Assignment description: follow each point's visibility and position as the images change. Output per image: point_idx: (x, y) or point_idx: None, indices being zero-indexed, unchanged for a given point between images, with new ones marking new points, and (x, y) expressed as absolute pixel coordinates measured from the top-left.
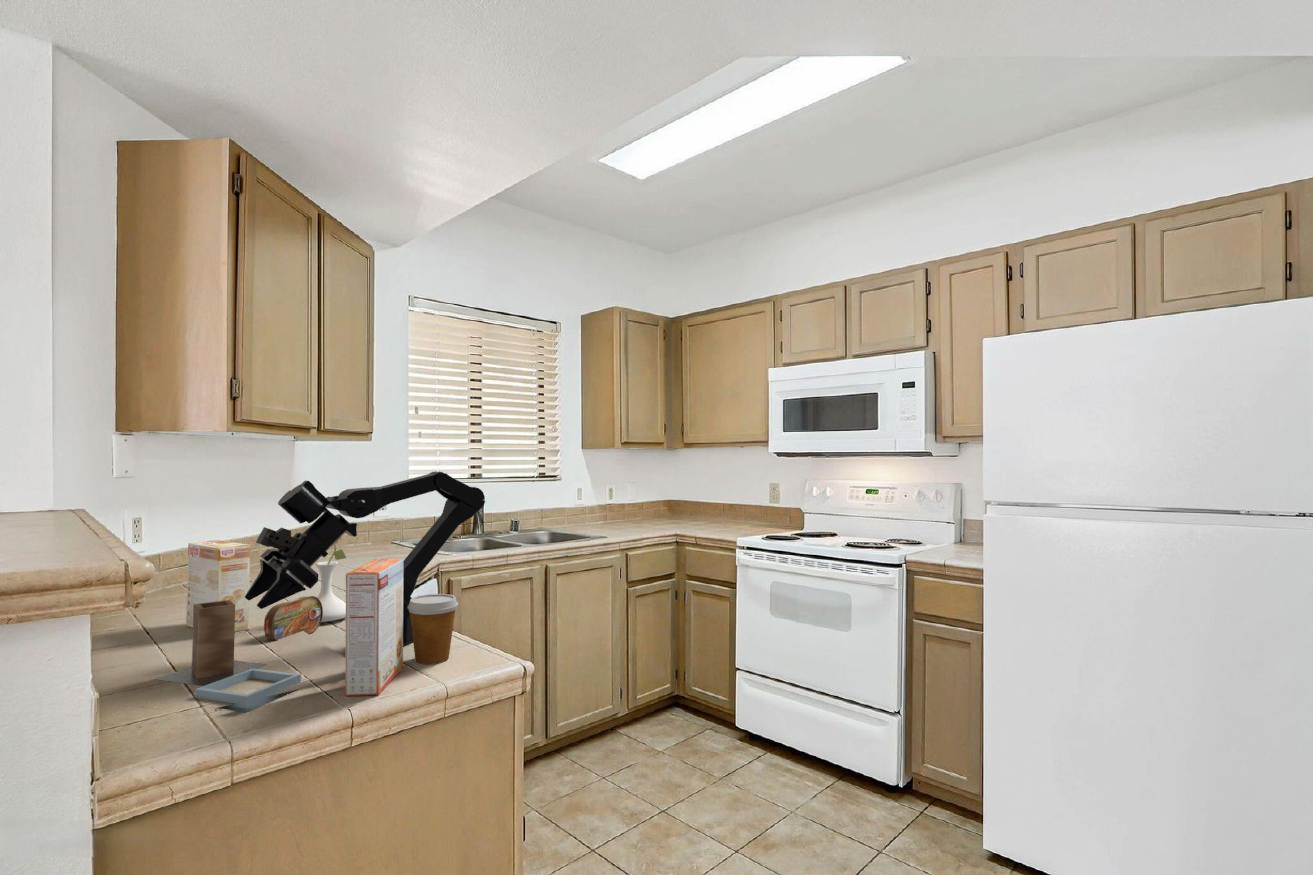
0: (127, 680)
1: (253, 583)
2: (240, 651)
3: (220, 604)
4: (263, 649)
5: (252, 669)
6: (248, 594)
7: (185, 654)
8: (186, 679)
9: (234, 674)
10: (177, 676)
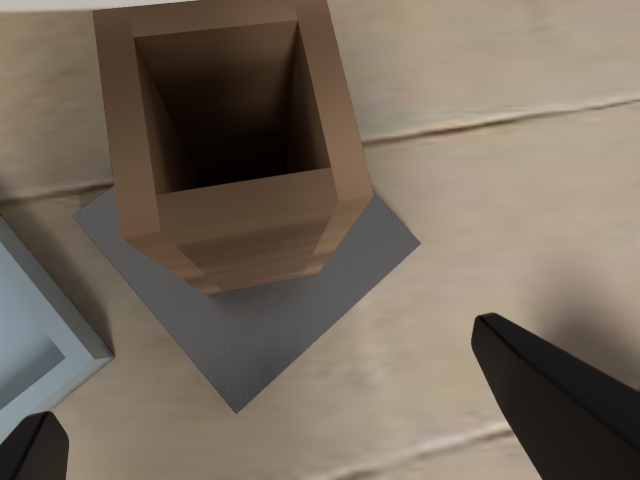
0: (367, 30)
1: (613, 389)
2: (553, 318)
3: (324, 152)
4: None
5: (78, 359)
6: (491, 340)
7: (585, 157)
8: None
9: (165, 298)
10: None
